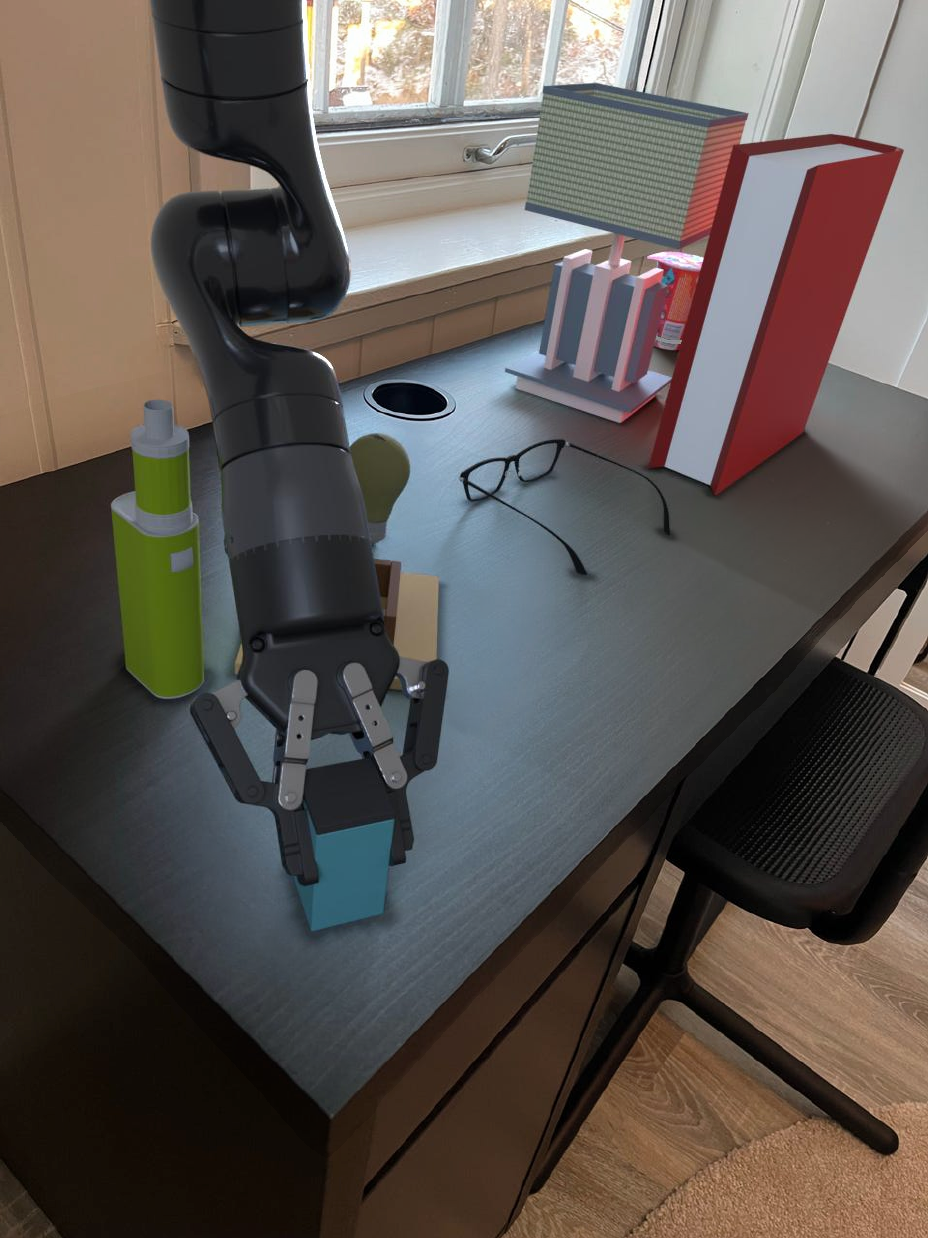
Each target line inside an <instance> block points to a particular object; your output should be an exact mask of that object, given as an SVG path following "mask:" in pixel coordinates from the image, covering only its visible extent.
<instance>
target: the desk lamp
mask: <svg viewBox="0 0 928 1238" xmlns="http://www.w3.org/2000/svg"><path fill="white" fill-rule="evenodd" d="M749 115H750V113H749V112H744V111H739V110H735V109H730V108H729V109H728V108H725V107H719V106H714V105H709V104H704V103H699V102H694V101H689V100H684V99H679V98H673V97H669V96H663V95H659V94H654V93H650V92H645V91H638V90H635V89H629V88H624V87H618V86H613V85H609V84H603V83H598V82H585V83H583V82H582V83H570V84H569V83H568V84H566V83H565V84H552V85H543V87H542V99H541V105H540V113H539V119H538V125H537V131H536V139H535V145H534V150H533V157H532V165H531V170H530V171H531V172H530V177H529V184H528V191H527V196H526V201H525V205H524V211H526V212H531V213H534V214H537V215H543V216H545V217H546V216H547V217H550V218H553V219H557V220H561V221H566V222H569V223H574V224H577V225H581V226H585V227H589V228H593V229H595V230H596V229H597V230H599V231H605V232H607V233H613V236H612V242H611V246H610V250H609V255H608V259H607V260H605V261H603V262H600V263H598V264H596V265H595V264H591V261H592V256H593V250H591V249H587V248H584V249H582V250H579V251H577V252H574V253H571V254H569V255H566V256H563V260H562V261H560V262H557V263H555V264H554V265H553V271H552V277H551V282H550V288H549V294H548V299H547V305H546V311H545V318H544V321H543V328H542V333H541V339H540V345H539V349H538V350H536V351H535V352H533V353H531V354H529V355H527V356H525V357H523V358H521V359H519V360H518V361H516V362H513V363H512V364H510V365H508V366H506V367H505V368H504V373H507V374H510V375H513V376H516V384H515V389H517V390H519V391H522V392H525V393H528V394H532V395H534V396H536V397H537V396H538V397H541V398H543V399H547V400H549V401H552V402H554V403H555V402H556V403H558V404H562V405H564V406H568V407H569V408H574V409H576V410H578V411H579V410H580V411H583V412H586V413H588V414H591V415H595V416H598V417H601V418H604V419H607V420H609V421H613V422H616V423H618V424H621V423H623V422H624V421H626V419H628V418H629V417H631V416H632V415H633V414H634V413H636V412H637V411H638V410H640V409H641V408H642V407H643V406H644V405H646V404H648V403H649V402H650V401H651V400H652V399H654V398H655V397H656V396H657V394H658V393H659V392H661V391H662V390H663V389H664V388H666V387H667V386H668V385H670V383H671V380H672V376H668V375H665V374H661V373H658V372H655V371H652V370H649V368H650V363H651V359H652V355H653V352H654V348H655V346H654V344H655V339H656V335H657V331H658V327H659V323H660V319H661V315H662V311H663V307H664V303H665V299H666V294H667V290H668V286H669V285H666V284H662V283H661V279H662V275H663V271H664V270H662V269H659V268H657V267H654V268H652V269H650V270H648V271H645V272H644V273H642V274H640V275H637V276H635V275H632V274H630V271H631V265H632V260H628V259H624V258H622V254H623V250H624V245H625V240H626V237H628V238H632V239H636V240H639V241H643V242H647V243H652V244H655V245H658V246H662V247H667V248H670V249H674V250H678V251H679V250H682V249H683V248H685V247H687V246H690V245H692V244H695V243H696V242H698V241H700V240H702V239H704V238H707V237H709V235H710V232H711V228H712V224H713V220H714V217H715V213H716V209H717V205H718V201H719V198H720V194H721V190H722V186H723V182H724V179H725V175H726V171H727V167H728V163H729V160H730V156H731V152H732V148H733V145H737V144H741V142H742V137H743V133H744V130H745V126H746V123H747V121H748V117H749Z"/></svg>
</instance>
